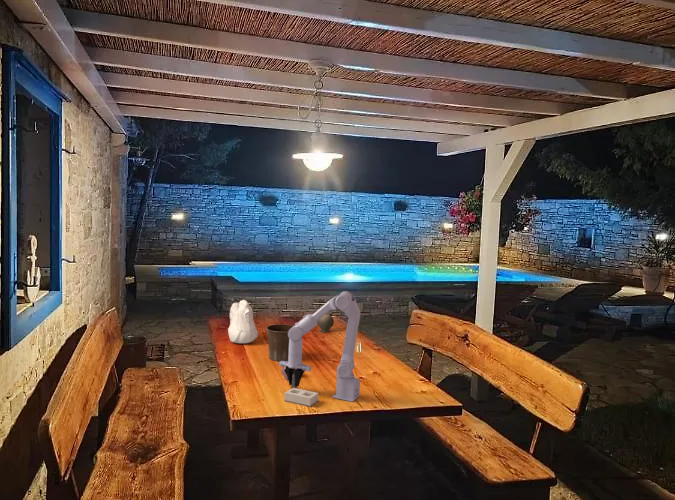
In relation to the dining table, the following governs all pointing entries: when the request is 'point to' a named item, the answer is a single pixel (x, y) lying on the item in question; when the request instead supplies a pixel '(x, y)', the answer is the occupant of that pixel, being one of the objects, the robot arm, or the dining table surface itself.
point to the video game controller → (285, 373)
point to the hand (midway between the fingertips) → (294, 385)
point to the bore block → (301, 397)
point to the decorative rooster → (242, 323)
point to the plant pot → (278, 341)
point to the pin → (293, 381)
